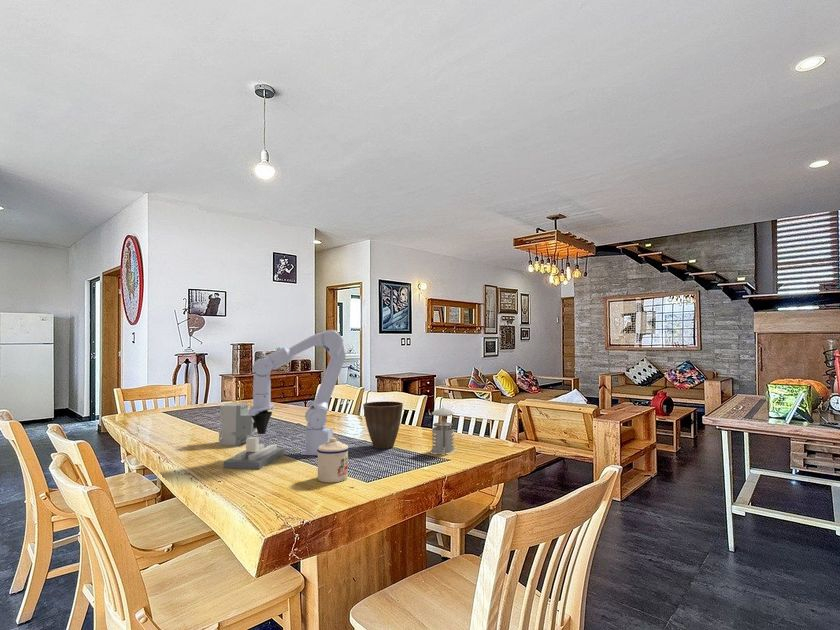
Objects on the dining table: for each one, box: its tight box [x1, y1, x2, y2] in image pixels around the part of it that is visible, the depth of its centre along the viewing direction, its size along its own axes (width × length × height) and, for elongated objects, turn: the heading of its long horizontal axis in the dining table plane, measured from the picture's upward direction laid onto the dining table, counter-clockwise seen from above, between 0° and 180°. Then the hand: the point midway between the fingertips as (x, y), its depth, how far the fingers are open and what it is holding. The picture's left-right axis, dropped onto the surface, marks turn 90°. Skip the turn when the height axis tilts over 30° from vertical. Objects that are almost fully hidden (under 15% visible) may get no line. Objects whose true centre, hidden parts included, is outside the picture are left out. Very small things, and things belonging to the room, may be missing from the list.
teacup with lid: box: [317, 436, 350, 484], centre depth 137 cm, size 12×9×12 cm
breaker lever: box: [245, 436, 260, 457], centre depth 153 cm, size 3×3×6 cm
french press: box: [430, 381, 457, 455], centre depth 166 cm, size 10×12×25 cm
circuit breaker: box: [218, 402, 258, 446], centre depth 182 cm, size 8×14×15 cm, turn 89°
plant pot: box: [362, 400, 404, 449], centre depth 175 cm, size 15×15×16 cm
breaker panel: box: [223, 443, 288, 470], centre depth 156 cm, size 20×12×4 cm, turn 172°
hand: (261, 433), depth 159 cm, fingers closed
